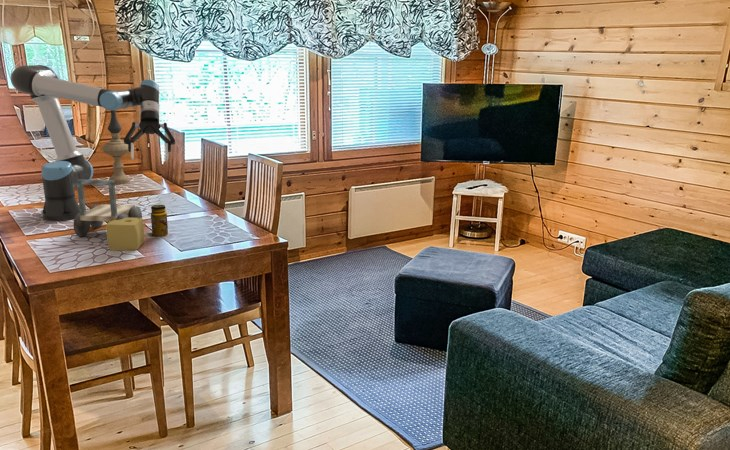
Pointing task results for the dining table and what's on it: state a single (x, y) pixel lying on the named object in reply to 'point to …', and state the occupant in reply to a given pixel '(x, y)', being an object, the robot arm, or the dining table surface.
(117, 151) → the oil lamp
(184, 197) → the dining table surface
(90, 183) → the trolley
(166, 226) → the condiment
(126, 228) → the cheese
